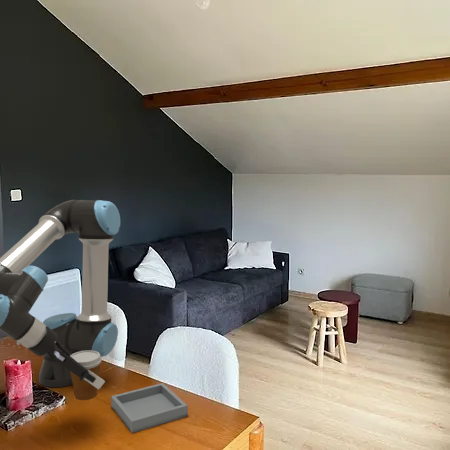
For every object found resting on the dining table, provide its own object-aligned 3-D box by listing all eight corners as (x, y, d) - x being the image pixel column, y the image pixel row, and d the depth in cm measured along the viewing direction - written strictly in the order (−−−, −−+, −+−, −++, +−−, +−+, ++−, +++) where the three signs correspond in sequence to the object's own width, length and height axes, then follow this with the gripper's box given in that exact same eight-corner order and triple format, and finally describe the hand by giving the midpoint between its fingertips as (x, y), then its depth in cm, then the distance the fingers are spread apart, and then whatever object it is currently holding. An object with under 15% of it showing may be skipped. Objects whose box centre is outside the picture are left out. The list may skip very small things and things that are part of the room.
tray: (111, 406, 150) (111, 396, 150) (162, 392, 159) (162, 383, 159) (131, 433, 135) (131, 421, 134) (187, 416, 144) (187, 405, 144)
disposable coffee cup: (93, 404, 133) (92, 364, 131) (62, 401, 135) (61, 361, 133) (108, 389, 142) (107, 351, 140) (79, 386, 144) (77, 348, 142)
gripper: (20, 336, 137) (77, 375, 148) (35, 362, 119) (99, 405, 129) (38, 315, 139) (93, 355, 150) (56, 338, 121) (117, 382, 131)
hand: (96, 378), depth 139 cm, fingers closed on disposable coffee cup, 9 cm apart
